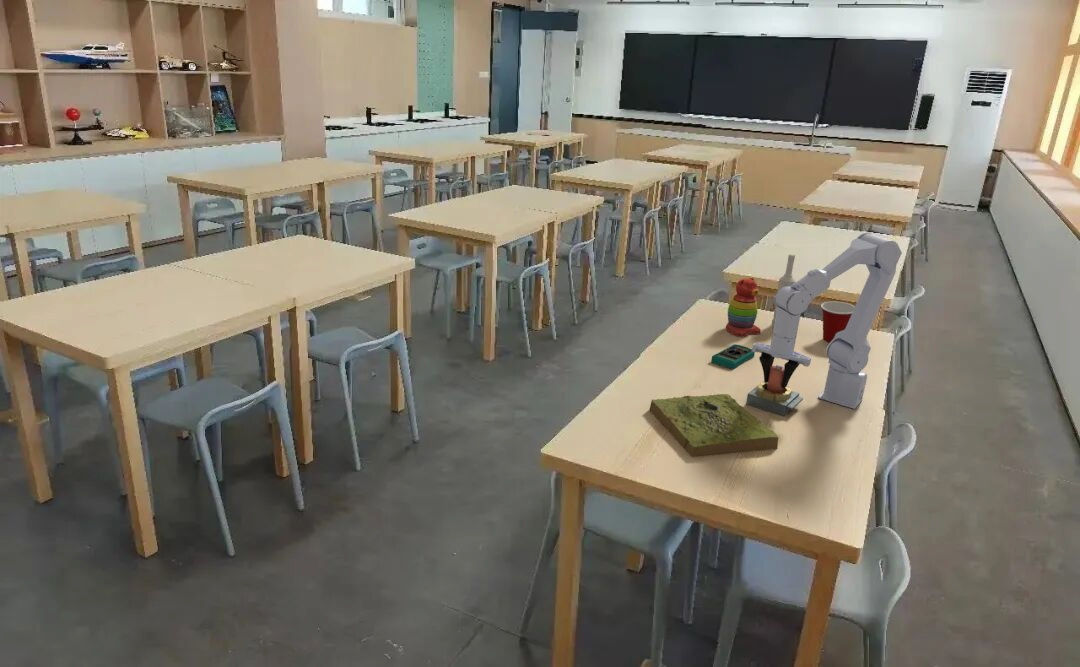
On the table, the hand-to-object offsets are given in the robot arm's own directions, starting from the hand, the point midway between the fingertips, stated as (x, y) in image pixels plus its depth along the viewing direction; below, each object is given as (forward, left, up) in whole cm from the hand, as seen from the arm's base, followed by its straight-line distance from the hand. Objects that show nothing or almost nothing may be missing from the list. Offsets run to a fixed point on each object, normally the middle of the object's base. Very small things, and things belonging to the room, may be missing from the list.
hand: (775, 384), depth 187 cm
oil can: (0, 0, -2) cm, 2 cm away
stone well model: (0, 0, -6) cm, 6 cm away
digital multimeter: (+20, -22, -6) cm, 30 cm away
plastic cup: (+3, -61, -6) cm, 61 cm away
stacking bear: (+29, -48, -6) cm, 56 cm away
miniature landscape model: (+6, +24, -6) cm, 26 cm away
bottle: (+21, -62, -6) cm, 66 cm away
